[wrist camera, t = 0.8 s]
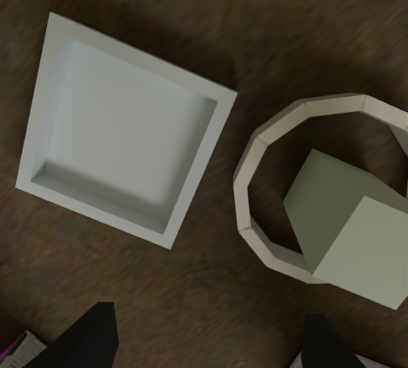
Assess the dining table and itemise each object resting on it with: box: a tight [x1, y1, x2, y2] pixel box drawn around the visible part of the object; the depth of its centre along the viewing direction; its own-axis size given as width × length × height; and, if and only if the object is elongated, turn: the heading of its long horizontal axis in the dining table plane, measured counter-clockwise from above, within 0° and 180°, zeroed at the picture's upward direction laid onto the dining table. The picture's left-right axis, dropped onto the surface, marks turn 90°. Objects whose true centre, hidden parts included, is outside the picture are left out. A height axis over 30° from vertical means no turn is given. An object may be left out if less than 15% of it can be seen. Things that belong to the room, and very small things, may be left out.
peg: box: [283, 148, 408, 310], centre depth 16 cm, size 4×4×8 cm
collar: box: [233, 93, 408, 284], centre depth 19 cm, size 12×12×2 cm
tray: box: [16, 12, 238, 249], centre depth 19 cm, size 11×11×2 cm
